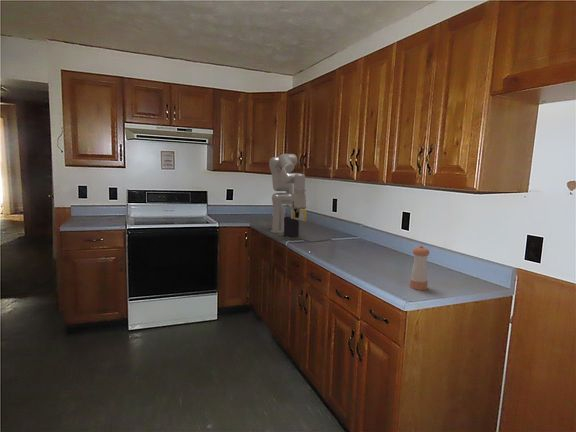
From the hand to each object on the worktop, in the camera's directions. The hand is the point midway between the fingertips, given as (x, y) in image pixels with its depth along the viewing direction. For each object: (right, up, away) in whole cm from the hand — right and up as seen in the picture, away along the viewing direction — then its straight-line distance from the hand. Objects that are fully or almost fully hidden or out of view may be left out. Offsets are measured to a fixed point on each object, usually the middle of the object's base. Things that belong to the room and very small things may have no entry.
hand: (298, 217), depth 259 cm
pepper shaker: (+52, -31, -94) cm, 111 cm away
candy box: (0, -2, 0) cm, 2 cm away
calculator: (-5, -15, +19) cm, 25 cm away
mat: (+13, -16, +9) cm, 23 cm away
